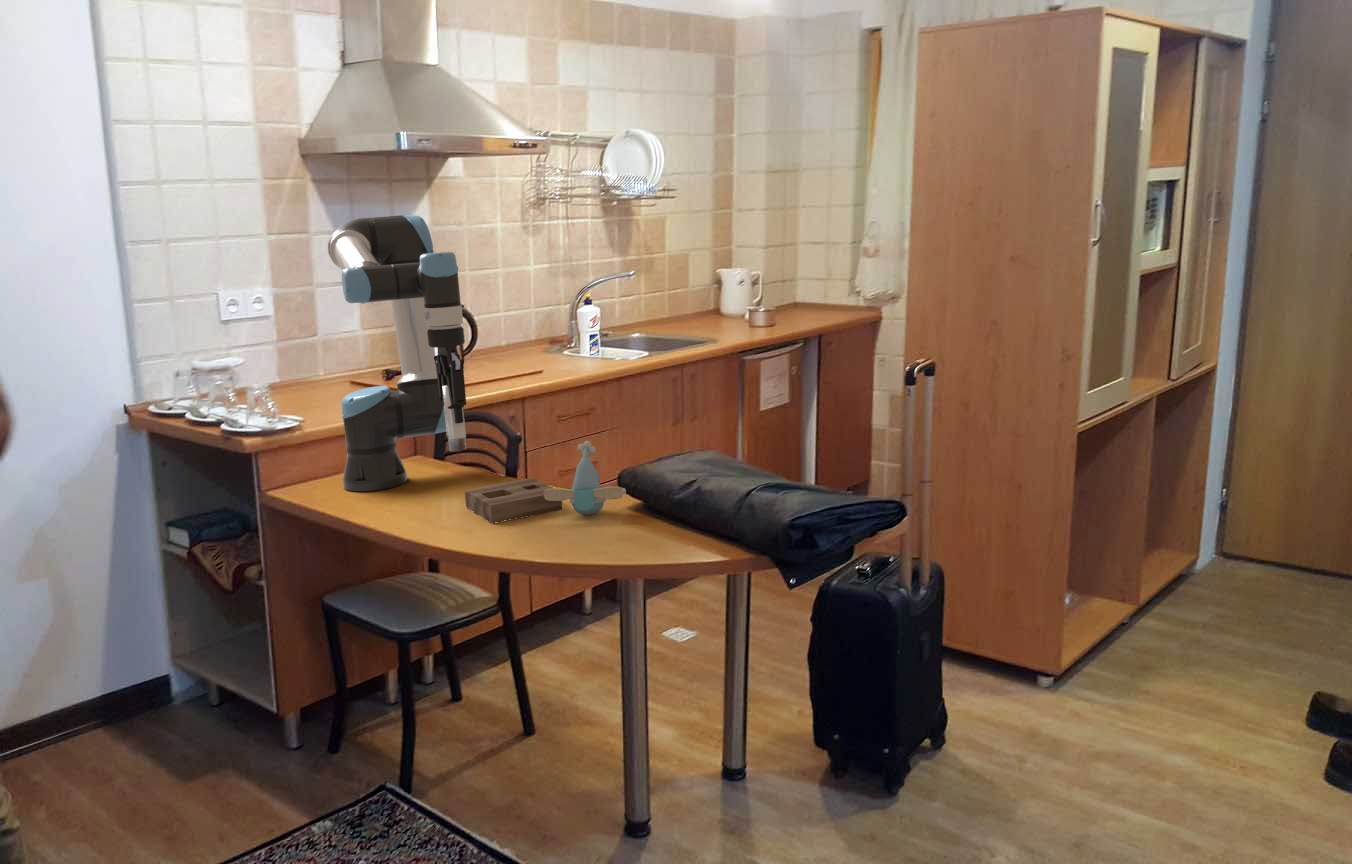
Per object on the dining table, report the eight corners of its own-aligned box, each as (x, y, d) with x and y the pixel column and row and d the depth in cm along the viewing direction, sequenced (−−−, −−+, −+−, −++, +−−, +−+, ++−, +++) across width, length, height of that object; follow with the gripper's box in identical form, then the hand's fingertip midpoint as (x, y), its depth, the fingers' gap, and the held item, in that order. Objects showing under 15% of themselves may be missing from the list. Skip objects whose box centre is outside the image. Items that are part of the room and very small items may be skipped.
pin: (447, 449, 238) (440, 385, 235) (463, 447, 239) (456, 383, 237) (451, 452, 235) (444, 387, 232) (468, 449, 236) (461, 384, 234)
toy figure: (631, 505, 238) (626, 437, 235) (624, 519, 228) (619, 449, 225) (555, 508, 240) (549, 440, 237) (545, 522, 230) (539, 452, 227)
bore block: (466, 507, 245) (464, 490, 244) (533, 494, 252) (531, 477, 252) (492, 523, 231) (490, 505, 230) (562, 509, 239) (560, 491, 238)
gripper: (416, 326, 238) (428, 433, 242) (438, 331, 223) (450, 445, 228) (450, 322, 241) (461, 428, 245) (474, 327, 227) (485, 439, 231)
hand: (456, 436), depth 237 cm, fingers closed on pin, 3 cm apart
